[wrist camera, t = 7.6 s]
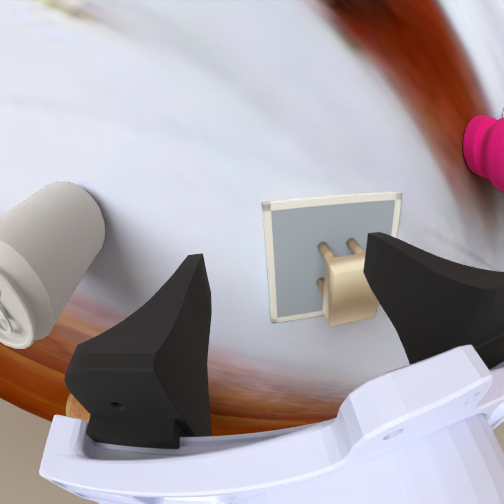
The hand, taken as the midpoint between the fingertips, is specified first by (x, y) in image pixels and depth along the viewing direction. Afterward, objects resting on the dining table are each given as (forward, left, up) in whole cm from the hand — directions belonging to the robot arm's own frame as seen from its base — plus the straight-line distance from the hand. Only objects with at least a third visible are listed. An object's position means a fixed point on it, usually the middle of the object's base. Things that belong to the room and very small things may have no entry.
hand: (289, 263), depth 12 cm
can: (0, +16, -11) cm, 19 cm away
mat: (-7, -6, -10) cm, 14 cm away
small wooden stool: (-7, -6, -10) cm, 14 cm away
